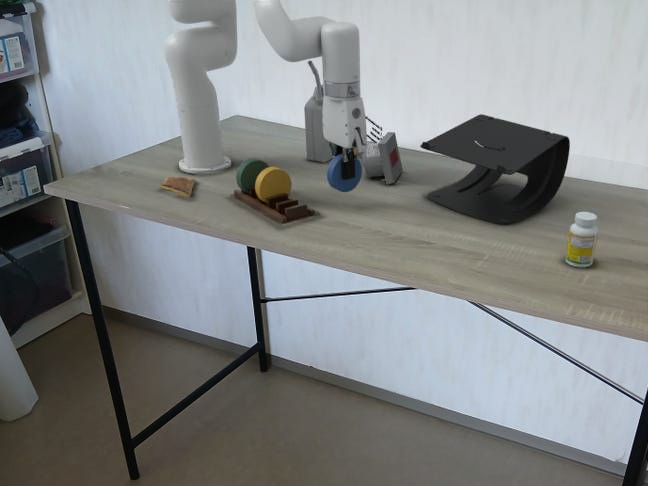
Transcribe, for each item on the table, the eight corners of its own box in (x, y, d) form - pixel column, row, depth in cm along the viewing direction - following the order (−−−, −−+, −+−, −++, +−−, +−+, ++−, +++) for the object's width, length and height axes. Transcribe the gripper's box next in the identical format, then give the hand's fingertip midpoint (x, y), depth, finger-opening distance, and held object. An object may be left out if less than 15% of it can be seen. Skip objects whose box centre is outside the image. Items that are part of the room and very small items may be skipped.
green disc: (238, 196, 167) (234, 161, 163) (269, 189, 172) (266, 154, 167) (242, 199, 166) (238, 164, 161) (273, 191, 170) (270, 157, 166)
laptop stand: (566, 201, 172) (576, 134, 164) (504, 229, 157) (511, 157, 149) (480, 174, 186) (484, 111, 178) (415, 197, 172) (417, 130, 163)
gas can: (318, 166, 188) (313, 62, 174) (301, 163, 190) (295, 59, 176) (348, 150, 200) (346, 51, 186) (332, 147, 201) (329, 48, 188)
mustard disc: (255, 205, 162) (254, 168, 158) (286, 200, 167) (286, 164, 163) (259, 207, 161) (259, 171, 157) (291, 202, 166) (292, 167, 162)
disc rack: (229, 198, 168) (227, 184, 167) (267, 188, 174) (266, 175, 172) (280, 228, 155) (279, 213, 153) (320, 217, 160) (319, 203, 159)
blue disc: (327, 193, 162) (326, 156, 157) (357, 185, 166) (356, 149, 162) (332, 195, 160) (331, 159, 156) (362, 188, 165) (361, 152, 161)
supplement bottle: (584, 270, 142) (591, 223, 137) (559, 262, 145) (566, 215, 140) (597, 261, 145) (605, 215, 140) (573, 253, 148) (580, 208, 143)
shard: (191, 200, 166) (190, 193, 165) (155, 201, 165) (154, 193, 164) (196, 183, 175) (195, 176, 174) (163, 184, 174) (162, 177, 173)
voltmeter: (414, 182, 180) (415, 142, 174) (370, 188, 176) (369, 146, 170) (375, 150, 200) (375, 112, 195) (335, 154, 196) (333, 116, 191)
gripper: (380, 94, 149) (381, 183, 159) (334, 79, 159) (337, 164, 169) (350, 99, 145) (352, 190, 155) (304, 83, 155) (309, 170, 165)
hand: (344, 176), depth 162 cm, fingers closed on blue disc, 2 cm apart
